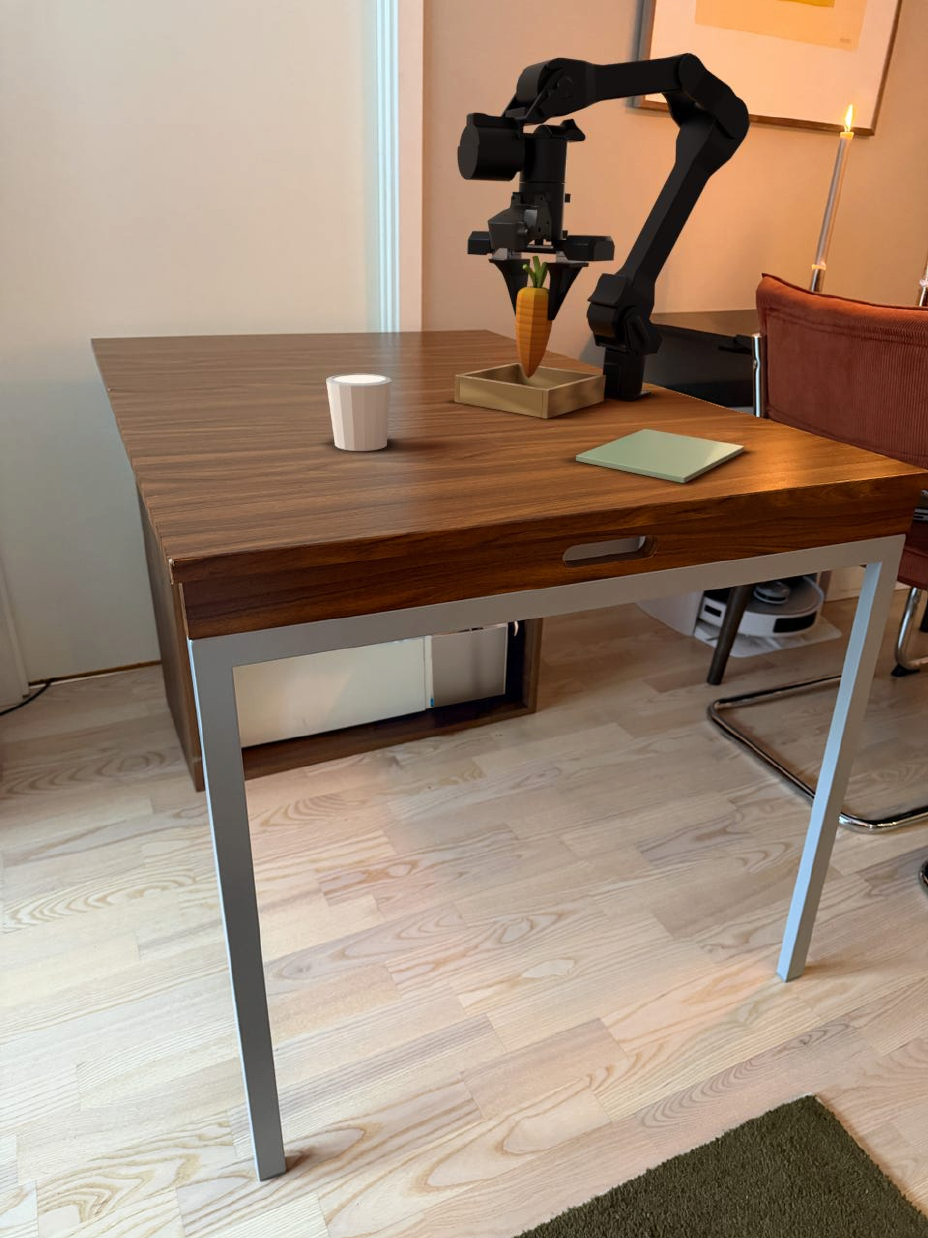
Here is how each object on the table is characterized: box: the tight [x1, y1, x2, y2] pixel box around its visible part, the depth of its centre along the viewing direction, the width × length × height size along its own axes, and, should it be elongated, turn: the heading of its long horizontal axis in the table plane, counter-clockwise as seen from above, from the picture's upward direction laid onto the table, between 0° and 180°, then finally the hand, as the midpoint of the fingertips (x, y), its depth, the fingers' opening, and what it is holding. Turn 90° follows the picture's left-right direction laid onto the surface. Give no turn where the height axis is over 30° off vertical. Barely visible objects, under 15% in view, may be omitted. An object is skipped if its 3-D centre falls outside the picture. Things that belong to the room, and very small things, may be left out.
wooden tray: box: [454, 362, 606, 419], centre depth 112 cm, size 15×15×4 cm
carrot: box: [515, 255, 553, 378], centre depth 108 cm, size 5×5×15 cm
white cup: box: [325, 373, 392, 452], centre depth 89 cm, size 7×7×7 cm
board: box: [575, 428, 745, 484], centre depth 89 cm, size 16×12×1 cm
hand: (534, 318), depth 108 cm, fingers closed on carrot, 5 cm apart
